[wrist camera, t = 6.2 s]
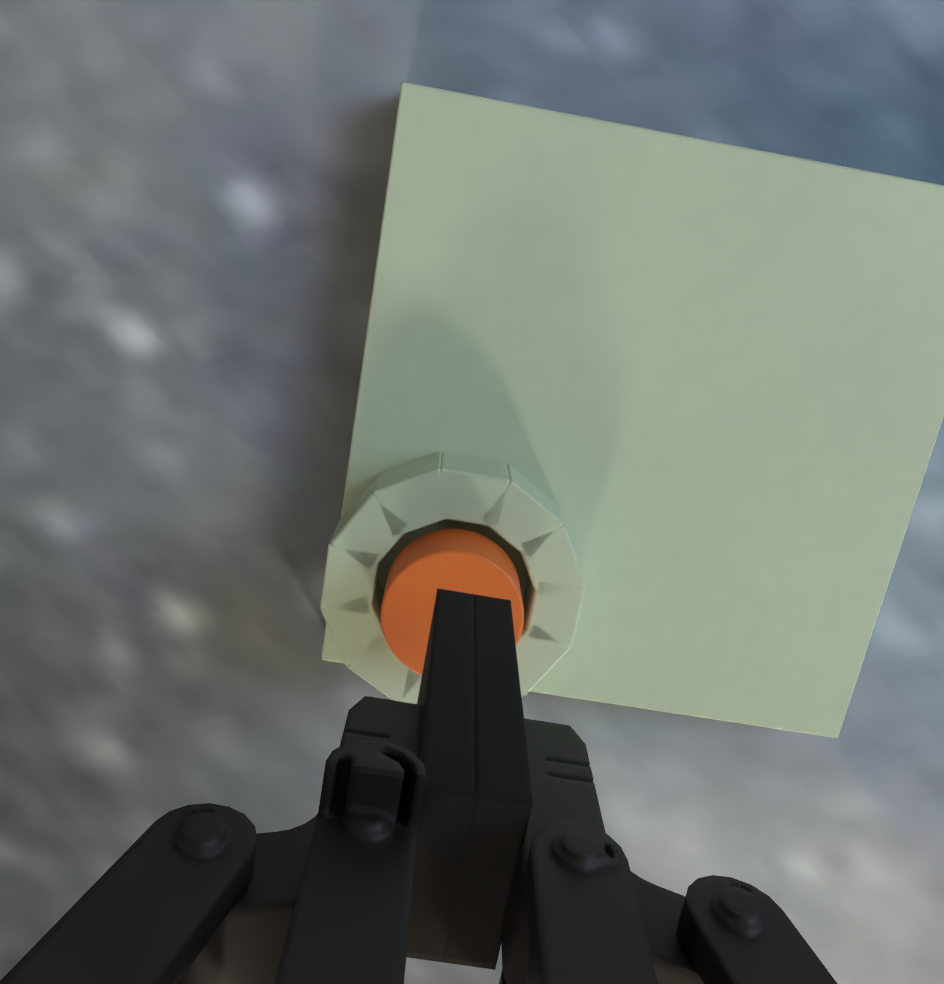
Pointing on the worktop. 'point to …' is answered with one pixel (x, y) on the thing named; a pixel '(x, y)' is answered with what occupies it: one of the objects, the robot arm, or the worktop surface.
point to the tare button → (442, 586)
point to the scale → (644, 404)
